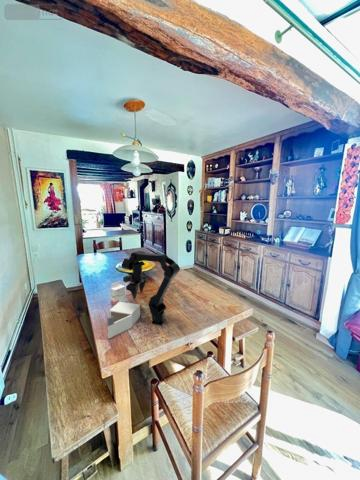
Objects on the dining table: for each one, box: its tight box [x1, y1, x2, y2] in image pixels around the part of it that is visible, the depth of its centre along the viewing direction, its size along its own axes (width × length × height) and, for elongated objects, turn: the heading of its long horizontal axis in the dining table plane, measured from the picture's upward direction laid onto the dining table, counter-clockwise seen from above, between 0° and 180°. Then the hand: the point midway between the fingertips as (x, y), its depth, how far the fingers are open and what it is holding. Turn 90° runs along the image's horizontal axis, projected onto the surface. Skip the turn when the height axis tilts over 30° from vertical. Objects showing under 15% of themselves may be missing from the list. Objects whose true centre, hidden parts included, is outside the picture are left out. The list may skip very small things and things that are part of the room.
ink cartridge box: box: [110, 280, 126, 306], centre depth 141 cm, size 9×5×15 cm, turn 141°
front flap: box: [107, 315, 133, 339], centre depth 109 cm, size 14×1×12 cm, turn 136°
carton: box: [109, 301, 141, 327], centre depth 122 cm, size 14×11×8 cm
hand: (137, 295), depth 126 cm, fingers open, 9 cm apart
